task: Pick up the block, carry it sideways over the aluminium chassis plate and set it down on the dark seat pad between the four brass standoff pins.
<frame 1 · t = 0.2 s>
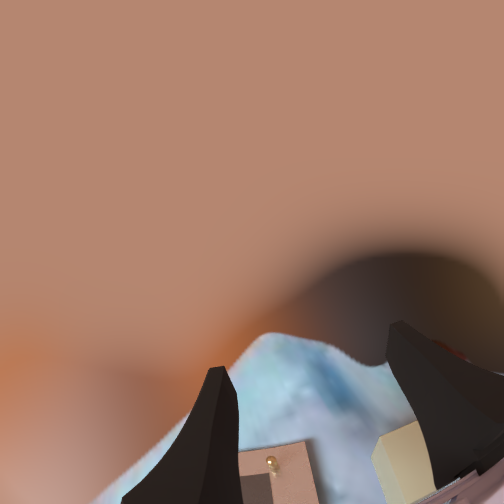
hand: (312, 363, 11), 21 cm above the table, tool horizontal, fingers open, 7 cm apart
block: (402, 476, 17), on the table
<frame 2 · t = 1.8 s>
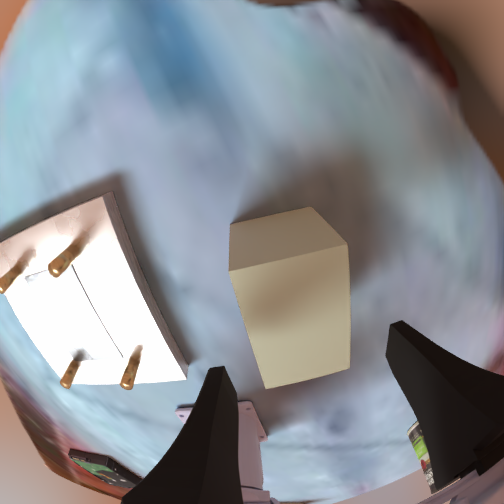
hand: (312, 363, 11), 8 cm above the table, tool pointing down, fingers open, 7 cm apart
disk drive: (109, 465, 35), on the table
chassis: (79, 308, 18), on the table
coffee can: (431, 418, 33), on the table
block: (282, 271, 18), on the table
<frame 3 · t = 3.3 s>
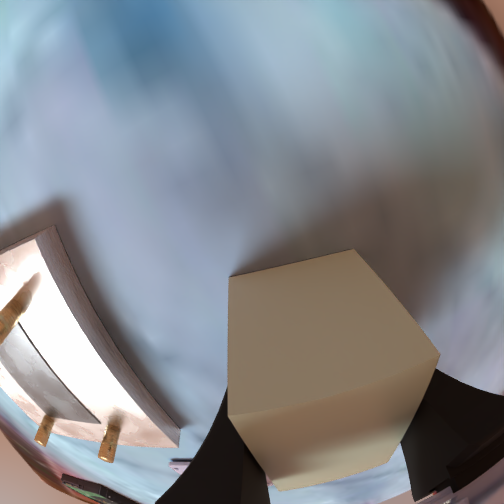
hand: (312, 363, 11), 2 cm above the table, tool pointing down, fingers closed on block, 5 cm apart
disk drive: (105, 490, 30), on the table
chassis: (43, 362, 12), on the table
block: (304, 338, 12), on the table, touching gripper
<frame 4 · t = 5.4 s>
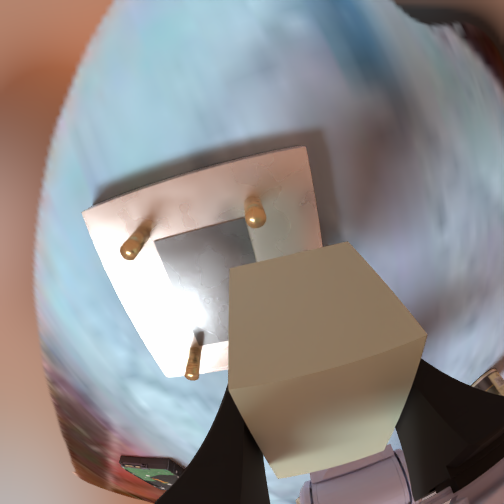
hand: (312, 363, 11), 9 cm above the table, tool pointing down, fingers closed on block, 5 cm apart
disk drive: (164, 469, 36), on the table
chassis: (219, 279, 19), on the table
coffee can: (477, 386, 33), on the table
block: (301, 327, 13), point 7 cm above the table, touching gripper
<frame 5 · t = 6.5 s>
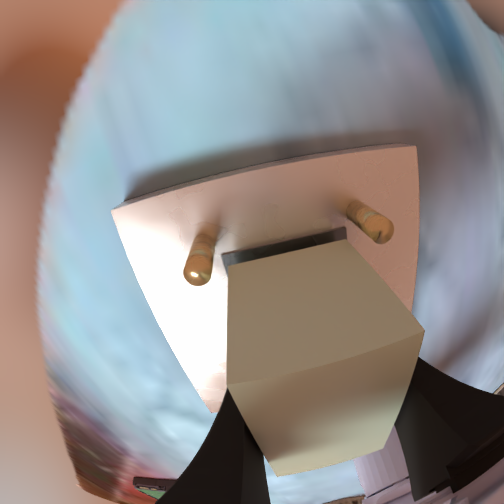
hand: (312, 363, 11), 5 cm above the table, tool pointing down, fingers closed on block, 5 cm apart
ceramic cottage: (338, 502, 47), on the table
disk drive: (181, 487, 32), on the table
chassis: (292, 300, 15), on the table
block: (300, 325, 13), point 2 cm above the table, touching gripper
when the fingers open (4 cm above the table, at t = 7.5 s): block stays where it is, resting on chassis.
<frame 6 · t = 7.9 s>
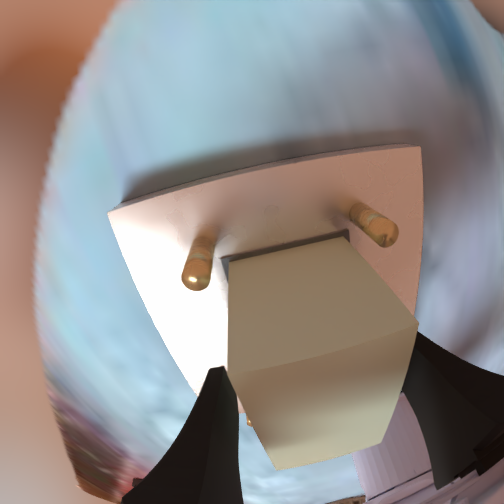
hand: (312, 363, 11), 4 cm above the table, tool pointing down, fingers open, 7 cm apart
ceramic cottage: (339, 502, 47), on the table
chassis: (293, 304, 15), on the table
block: (299, 321, 13), point 2 cm above the table, touching chassis
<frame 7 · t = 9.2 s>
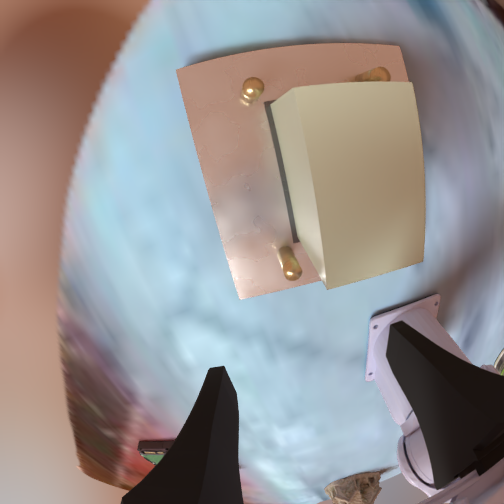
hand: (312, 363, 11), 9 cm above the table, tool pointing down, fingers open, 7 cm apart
ceramic cottage: (353, 479, 49), on the table
disk drive: (190, 455, 34), on the table
chassis: (318, 162, 16), on the table
block: (326, 164, 15), point 2 cm above the table, touching chassis
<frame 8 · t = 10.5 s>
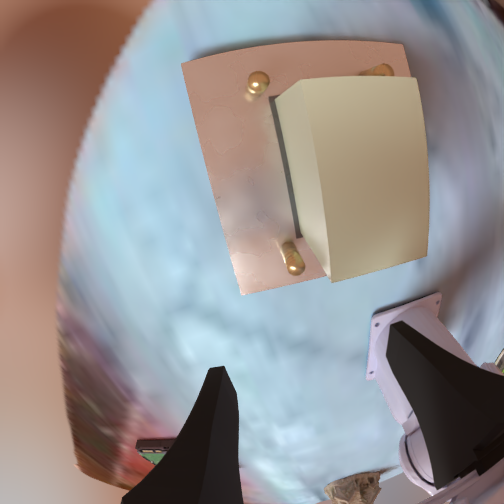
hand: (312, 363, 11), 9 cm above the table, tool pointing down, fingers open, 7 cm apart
ceramic cottage: (353, 480, 48), on the table
disk drive: (189, 454, 34), on the table
chassis: (322, 158, 16), on the table
block: (330, 160, 15), point 2 cm above the table, touching chassis
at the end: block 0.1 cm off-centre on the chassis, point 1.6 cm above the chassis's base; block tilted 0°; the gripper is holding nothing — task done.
